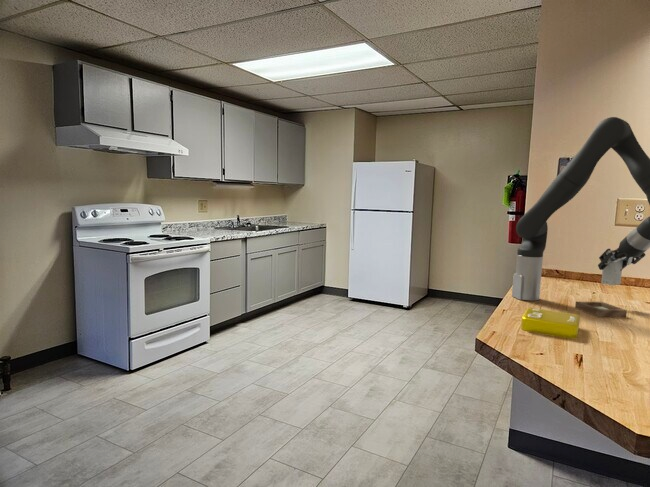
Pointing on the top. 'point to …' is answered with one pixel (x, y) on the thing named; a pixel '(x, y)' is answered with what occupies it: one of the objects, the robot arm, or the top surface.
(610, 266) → the skincare box
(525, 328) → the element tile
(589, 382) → the top surface
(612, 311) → the seat block
